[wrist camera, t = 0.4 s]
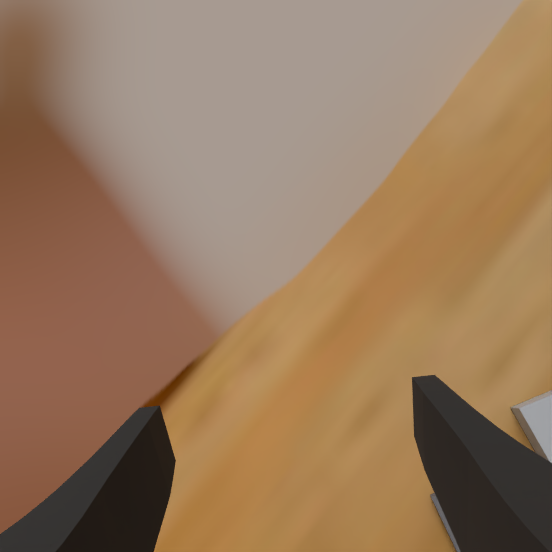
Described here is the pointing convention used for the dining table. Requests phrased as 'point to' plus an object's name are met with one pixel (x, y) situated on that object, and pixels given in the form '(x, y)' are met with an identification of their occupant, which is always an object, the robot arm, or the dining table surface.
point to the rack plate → (537, 423)
